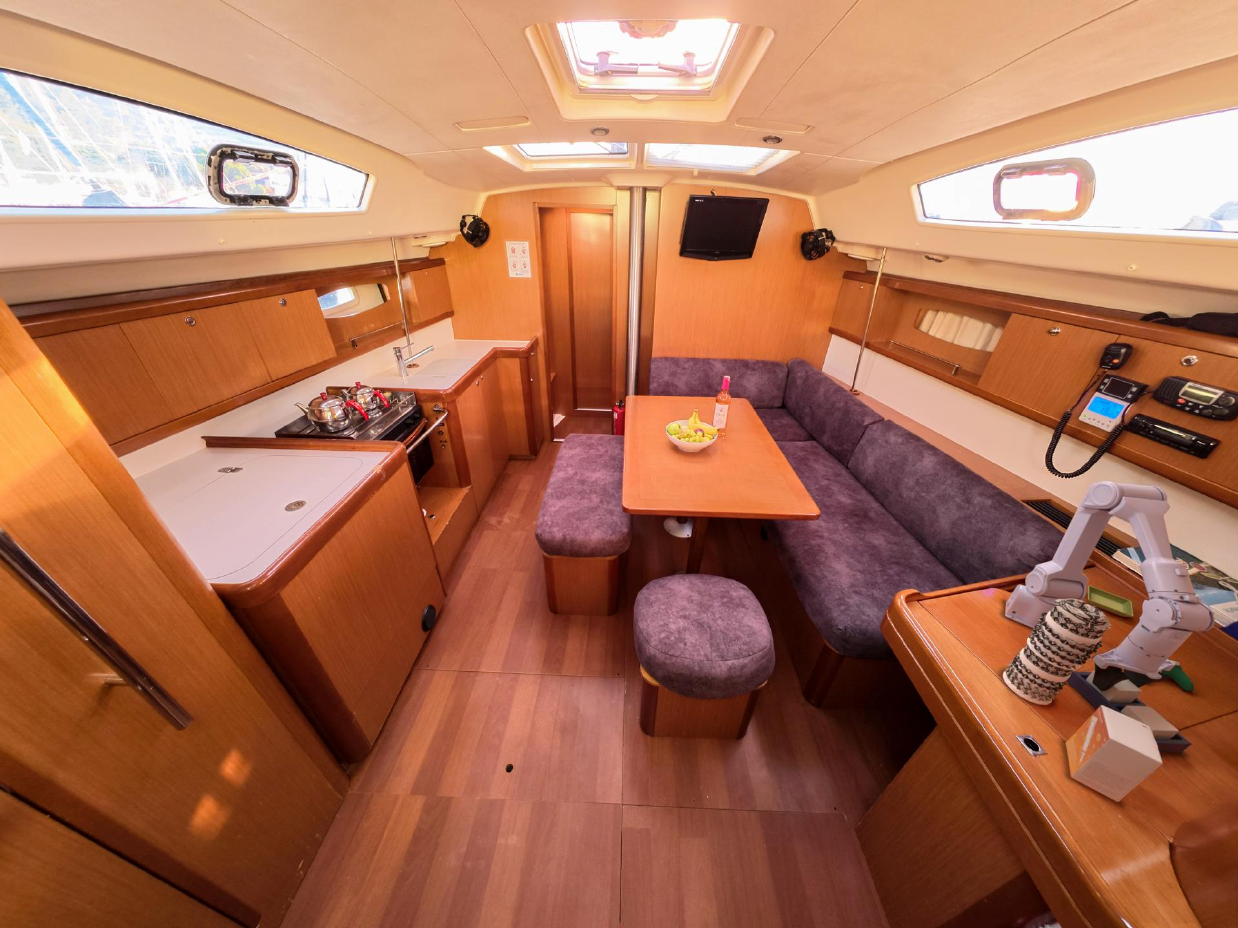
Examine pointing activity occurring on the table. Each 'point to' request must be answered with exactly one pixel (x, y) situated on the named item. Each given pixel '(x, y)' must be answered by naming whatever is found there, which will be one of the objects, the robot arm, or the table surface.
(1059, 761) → the table surface
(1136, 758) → the small box
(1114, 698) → the white squarish block
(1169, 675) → the gaming controller
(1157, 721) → the beige block
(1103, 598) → the green shallow tray
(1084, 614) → the decorative candle
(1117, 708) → the holder
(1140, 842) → the table surface
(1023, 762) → the table surface
